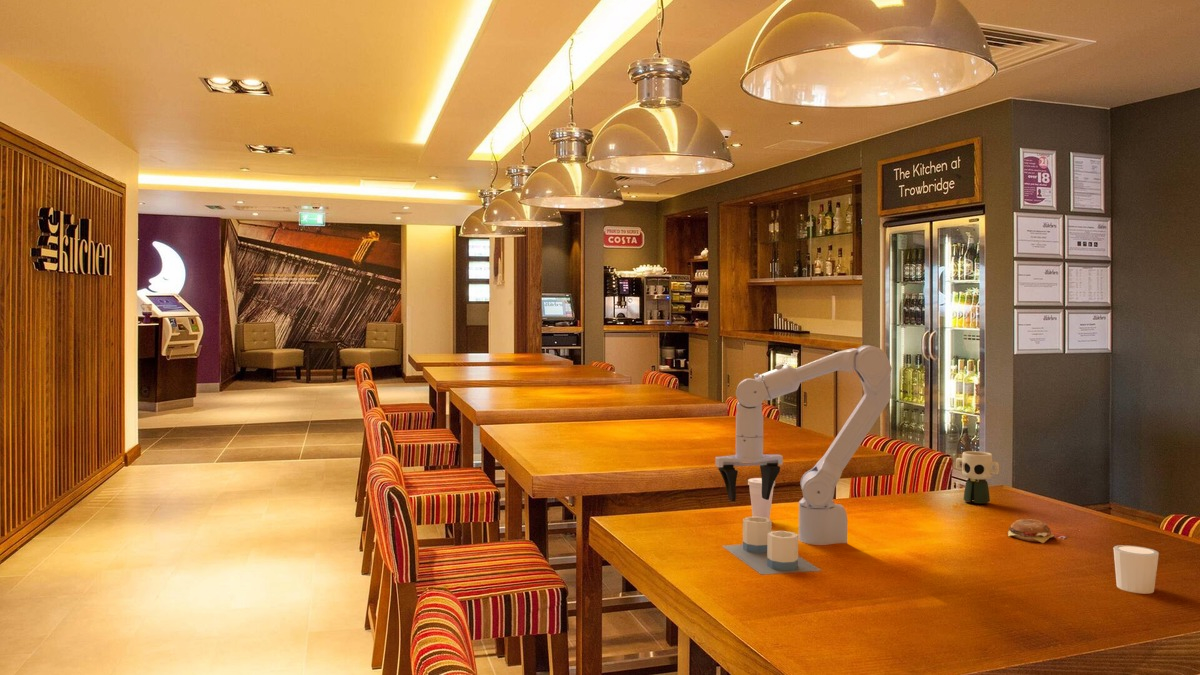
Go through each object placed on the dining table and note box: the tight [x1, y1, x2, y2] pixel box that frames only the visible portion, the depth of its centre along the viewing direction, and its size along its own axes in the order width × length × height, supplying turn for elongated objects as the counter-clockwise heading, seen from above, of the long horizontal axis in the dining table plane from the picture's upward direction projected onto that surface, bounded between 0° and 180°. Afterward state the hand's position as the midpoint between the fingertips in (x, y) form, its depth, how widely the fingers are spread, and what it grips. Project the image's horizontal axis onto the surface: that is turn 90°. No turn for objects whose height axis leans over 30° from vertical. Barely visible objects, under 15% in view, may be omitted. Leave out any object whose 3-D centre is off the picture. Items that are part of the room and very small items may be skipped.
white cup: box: [1112, 544, 1160, 595], centre depth 153 cm, size 7×7×7 cm
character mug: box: [955, 450, 1000, 505], centre depth 223 cm, size 11×7×13 cm, turn 46°
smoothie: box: [747, 477, 776, 520], centre depth 202 cm, size 6×6×14 cm
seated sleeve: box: [767, 530, 799, 571], centre depth 161 cm, size 5×5×6 cm
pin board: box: [721, 544, 823, 576], centre depth 166 cm, size 12×20×6 cm, turn 13°
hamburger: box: [1007, 518, 1067, 544], centre depth 188 cm, size 14×14×6 cm
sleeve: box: [742, 516, 773, 553], centre depth 172 cm, size 5×5×6 cm
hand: (748, 499), depth 182 cm, fingers open, 7 cm apart
